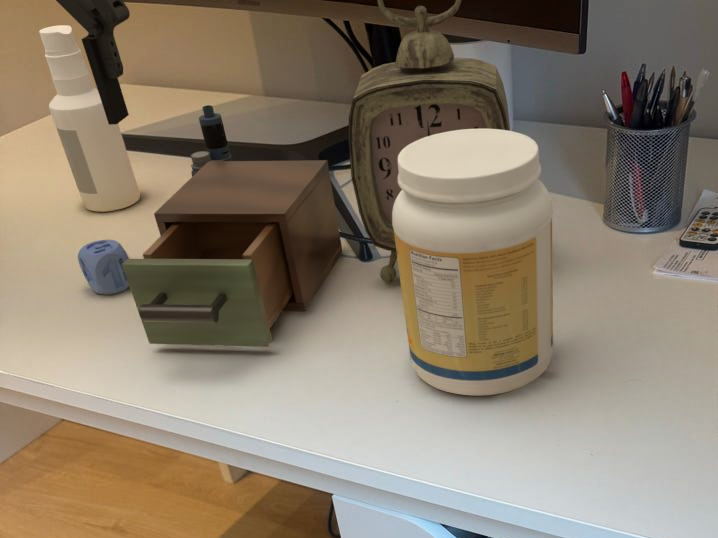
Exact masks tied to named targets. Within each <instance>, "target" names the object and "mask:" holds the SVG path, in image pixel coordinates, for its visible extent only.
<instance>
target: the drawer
mask: <svg viewBox="0 0 718 538" xmlns="http://www.w3.org/2000/svg"><path fill="white" fill-rule="evenodd" d="M142 257H143V258H129V259H127V260H126V261H125V262H124V263H123V264H122V266H123V269H124V272H125V274H126V277H127V280H128V283H129V286H130V287H129V289H130V292H131V294H132V297H133V298H132V299H133V301H134V303H135V306H136V309H137V312H138V315H139V319H140V321H141V324H142V326H143V329H144V332H145V335H146V339H147V341H148V344H149V345H183V346H185V345H186V346H220V347H221V346H223V347H263V348H264V347H267V348H268V347H269V346H270V345H271V343H272V341H273V338H272V334H271V327H272V326H273V324H274V323H275V322H276V320H277V319H278V317H279V316H280V314H281V313H282V312H283V311H282V310H283V308H284V307H285V305H286V304H287V302H288V301H289V299H290V298H291V296H292V295H293V293H294V291H293V286H292V281H291V277H290V272H289V267H288V263H287V258H286V253H285V249H284V244H283V239H282V235H281V230H280V225H279V222H174V223H173V224H172V225H171V226H170V227H169V228H168V229H167V230H166V231H165V232H164V233H163V234H162V235H161V236H159V237H158V238H157V239H156V240H155V241H154V242H153V243H152V244H151V245H150V246H149V247H148V248H147V249H146V250H145V251H143V253H142Z"/></svg>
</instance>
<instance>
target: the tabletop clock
mask: <svg viewBox="0 0 718 538" xmlns="http://www.w3.org/2000/svg"><path fill="white" fill-rule="evenodd" d="M461 3H462V0H455V2H454V5H452V6H451V7H450V8H448V10H446V11H444V12H441V13H439V14H437V15H431V16H428V10H427V8H426V7H425V6H424V5H417V6H416V7H415V9H414V17H406V16H405V17H404V16H401V15H398V14H395V13H393V12H391V11H390V10H388V9H387V8H386V6H385V3H384V0H377V4H378V8H379V10H380V12H381V13H382V15H383V16H384V17H385V18H386V19H388V20H389V21H390V22H391V23H393V24H395V25H399V26H400V27H404V28H413V29H415V30H414V31H412V32H409V33H407V34H406V35H404V37H403V39H402V40H401V42H400V44H399V46H398V49H397V53H396V58H395V61H394V62H390V63H384V64H381V65H378V66H375V67H372V69H369V70H368V71H367V72H364V73H363V74H361V76H360V79H359V82H358V84H357V86H356V90H355V93H354V95H353V97H352V101H351V106H350V109H349V110H350V111H349V115H348V126H347V127H348V130H347V132H348V133H347V135H348V136H347V140H348V154H349V164H350V166H349V167H350V176H351V182H352V187H353V191H354V195H355V199H356V203H357V204H356V205H357V209H358V212H359V216H360V219H361V223H362V225H363V227H364V230H365V233H366V234H367V236H368V238H369V240H370V242H371V243H372V245H373V246H374V247H377V248H380V249H381V250H385V251H389V252H390V256H389V262H388V265H387V264H386V265H384V266H382V268H381V269H380V272H379V277H380V278H381V280H382V281H383V283H387V284H390V283H393V282H395V280H396V278H397V270H396V268H395V264H396V263H397V261H398V259H397V252H396V244H395V237H394V229H393V225H392V211H393V206H394V202H395V200H396V198H397V196H398V195H399V193H400V192H401V190H402V189H401V188H400V187H399V185H398V174H399V170H398V155H399V153H400V152H401V151H402V150H403V149H404V148H405V147H406V146H408V145H409V144H411V143H413V142H415V141H417V140H419V139H421V138H424V137H427V136H431V135H434V134H439V133H443V132H449V131H455V130H463V129H500V130H508V131H511V126H510V114H509V105H508V99H507V94H506V90H505V86H504V82H503V80H502V78H501V75H500V72H499V70H498V67H497V66H496V65H494V64H491V63H489V62H486V61H484V60H481V59H478V58H477V59H476V58H471V57H455V54H454V51H453V49H452V46H451V44H450V42H449V41H448V39H447V38H446V37H445V36H444V35H443V34H442V33H441V32H439V31H436V30H433V29H429V28H430V27H434V26H438V25H440V24H443V23H445V22H446V21H448V20H451V19H452V18H453V16H454V15H455V14H457V11H459V8H460V6H461Z"/></svg>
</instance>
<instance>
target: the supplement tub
mask: <svg viewBox="0 0 718 538" xmlns="http://www.w3.org/2000/svg"><path fill="white" fill-rule="evenodd" d="M539 155H540V153H539V145H538V143H536V141H535V140H534V139H533V138H532V137H530V136H528V135H526V134H523V133H521V132H516V131H513V130H510V131H508V130H500V129H463V130H455V131H449V132H443V133H439V134H434V135H431V136H427V137H424V138H421V139H419V140H417V141H415V142H413V143H411V144H409V145H408V146H406V147H405V148H404V149H403V150H402V151H401V152H400V153H399V155H398V170H399V174H398V185H399V187H400V188H401V189H402V190H401V192H400V193H399V195H398V196H397V198H396V200H395V202H394V206H393V211H392V225H393V229H394V237H395V244H396V252H397V267H398V274H399V281H400V289H401V297H402V305H403V311H404V312H403V313H404V319H405V326H406V327H405V328H406V333H407V334H406V335H407V342H408V350H409V359H410V361H411V364H412V368H413V369H414V370H415V372H416V374H417V375H418V376H419V378H420V379H422V380H423V381H424V382H425V383H427V384H428V385H430V386H432V387H433V388H436V389H438V390H440V391H444V392H447V393H450V394H455V395H463V396H474V397H475V396H476V397H477V396H478V397H479V396H480V397H481V396H493V395H500V394H504V393H507V392H512V391H514V390H518V389H519V388H522V387H524V386H526V385H528V384H530V383H531V382H533V381H536V379H538V378H539V377H540V376H541V375H542V374H543V373H544V372H545V371H546V370H547V368H548V367H549V365H550V363H551V361H552V356H553V351H554V297H553V296H554V295H553V293H554V292H553V291H554V290H553V289H554V288H553V278H554V277H553V215H554V210H553V204H552V199H551V198H552V197H551V195H550V193H549V191H548V189H547V187H546V186H545V184H544V182H542V181H541V180H540V179H539V178H540V176H541V173H542V165H541V163H540V156H539Z"/></svg>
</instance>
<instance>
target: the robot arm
mask: <svg viewBox="0 0 718 538" xmlns="http://www.w3.org/2000/svg"><path fill="white" fill-rule="evenodd" d="M55 1H56V2H57V4H59V6H60V7H62V9H64V10H65V11H66V12H67V13H68V14H69V15H70V16H71V17H72V18H73V19H74V20H75V21H76V22H77V23H78V24H79V25H81V27H82V28H83V29H84V30H85V31H86V32H87V35H86V36H84V37H82V38H81V42H82V46H83V48H84V49H83V50H84V52H85V55H86V58H87V61H88V64H89V67H90V70H91V74H92V77H93V79H94V82H95V86H96V89H98V92H99V95H100V98H101V102H102V105H103V108H104V111H105V114H106V117H107V120H108V123H109V125H112V124H118V125H119V123H121V122H122V121H123V120H124V119H126V118H127V117H128V116H129V115H130V113H129V110H128V107H127V104H126V101H125V97H124V94H123V91H122V88H121V84H120V81H119V78H120V77H121V76H123V75H124V65H123V62H122V58H121V55H120V52H119V48H118V45H117V42H116V39H115V35H114V32H115V28H116V27H117V26H119V25H121V24H122V23H124V22H126V21H127V20H129V18H130V15H131V13H130V9H129V7H128V6H127V5H126V3H125V2H124V0H55Z"/></svg>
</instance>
